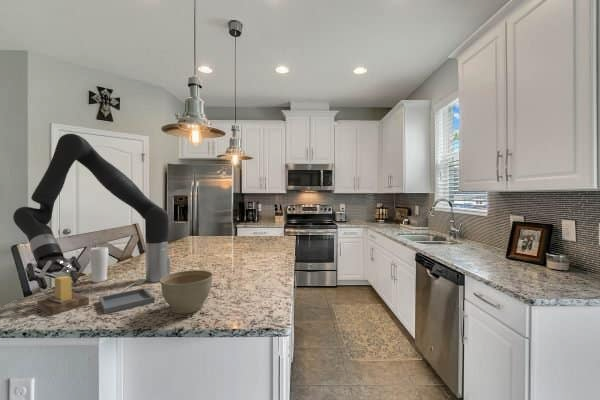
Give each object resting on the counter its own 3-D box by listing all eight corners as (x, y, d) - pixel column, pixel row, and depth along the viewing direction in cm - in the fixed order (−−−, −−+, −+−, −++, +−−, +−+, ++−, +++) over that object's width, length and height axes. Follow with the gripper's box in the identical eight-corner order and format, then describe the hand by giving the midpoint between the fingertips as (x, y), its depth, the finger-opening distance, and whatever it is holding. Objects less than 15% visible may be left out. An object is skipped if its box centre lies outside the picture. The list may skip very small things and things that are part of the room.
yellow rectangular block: (65, 303, 98) (65, 275, 97) (71, 305, 95) (71, 277, 95) (55, 306, 95) (54, 277, 95) (61, 309, 93) (60, 279, 93)
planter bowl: (156, 307, 94) (155, 275, 93) (203, 296, 103) (203, 267, 103) (166, 324, 81) (166, 287, 81) (220, 310, 91) (219, 277, 90)
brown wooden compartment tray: (72, 298, 102) (72, 289, 102) (88, 304, 97) (88, 294, 97) (37, 308, 94) (36, 298, 94) (53, 314, 88) (52, 304, 88)
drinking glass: (99, 283, 121) (98, 249, 121) (86, 282, 122) (85, 249, 122) (112, 279, 127) (111, 246, 127) (100, 278, 129) (99, 246, 129)
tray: (144, 292, 109) (144, 287, 109) (154, 302, 98) (154, 297, 98) (99, 301, 99) (99, 296, 99) (104, 314, 88) (104, 308, 88)
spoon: (148, 282, 123) (148, 278, 123) (112, 299, 103) (112, 295, 103) (139, 282, 123) (139, 278, 123) (102, 299, 103) (102, 294, 103)
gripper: (22, 245, 94) (37, 283, 88) (72, 240, 106) (88, 273, 101) (16, 259, 96) (30, 297, 91) (66, 252, 109) (81, 285, 103)
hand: (61, 284), depth 96 cm, fingers open, 8 cm apart
